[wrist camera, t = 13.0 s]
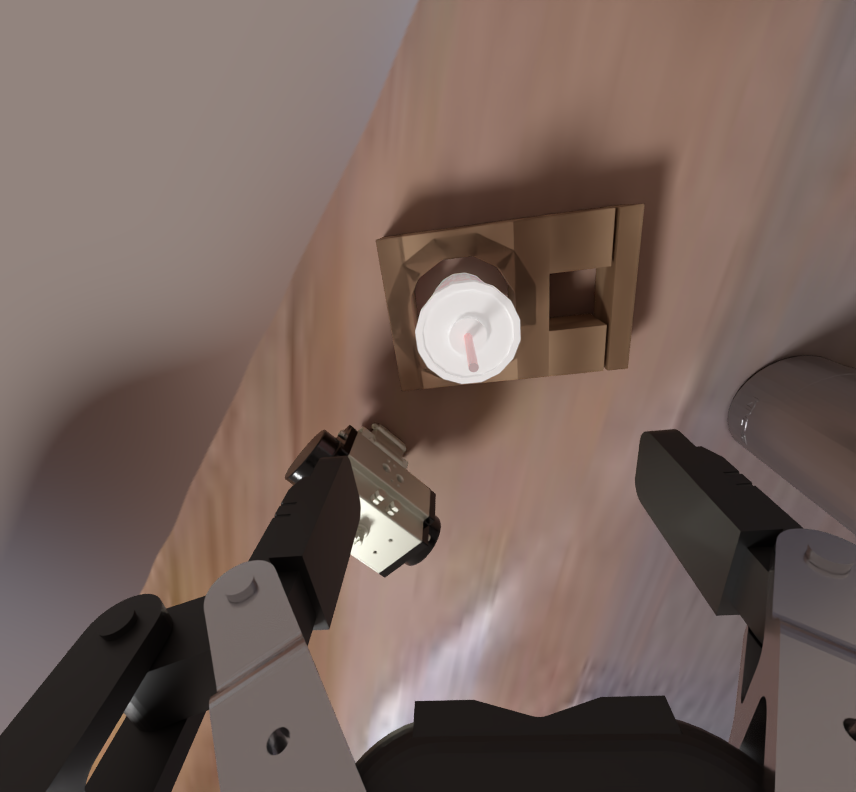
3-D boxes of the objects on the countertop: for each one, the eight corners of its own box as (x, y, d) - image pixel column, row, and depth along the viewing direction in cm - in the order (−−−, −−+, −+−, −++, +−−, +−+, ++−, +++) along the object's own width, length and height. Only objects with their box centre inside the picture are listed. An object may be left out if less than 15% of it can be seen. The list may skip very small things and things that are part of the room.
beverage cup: (506, 265, 29) (553, 306, 16) (494, 343, 32) (527, 430, 19) (425, 258, 29) (410, 295, 16) (420, 337, 32) (404, 420, 19)
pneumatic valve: (410, 492, 39) (396, 601, 28) (317, 420, 36) (261, 511, 25) (449, 460, 37) (451, 564, 26) (355, 381, 34) (313, 462, 23)
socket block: (621, 204, 27) (644, 203, 24) (609, 352, 32) (627, 368, 29) (383, 236, 28) (375, 240, 25) (405, 373, 33) (401, 390, 30)
